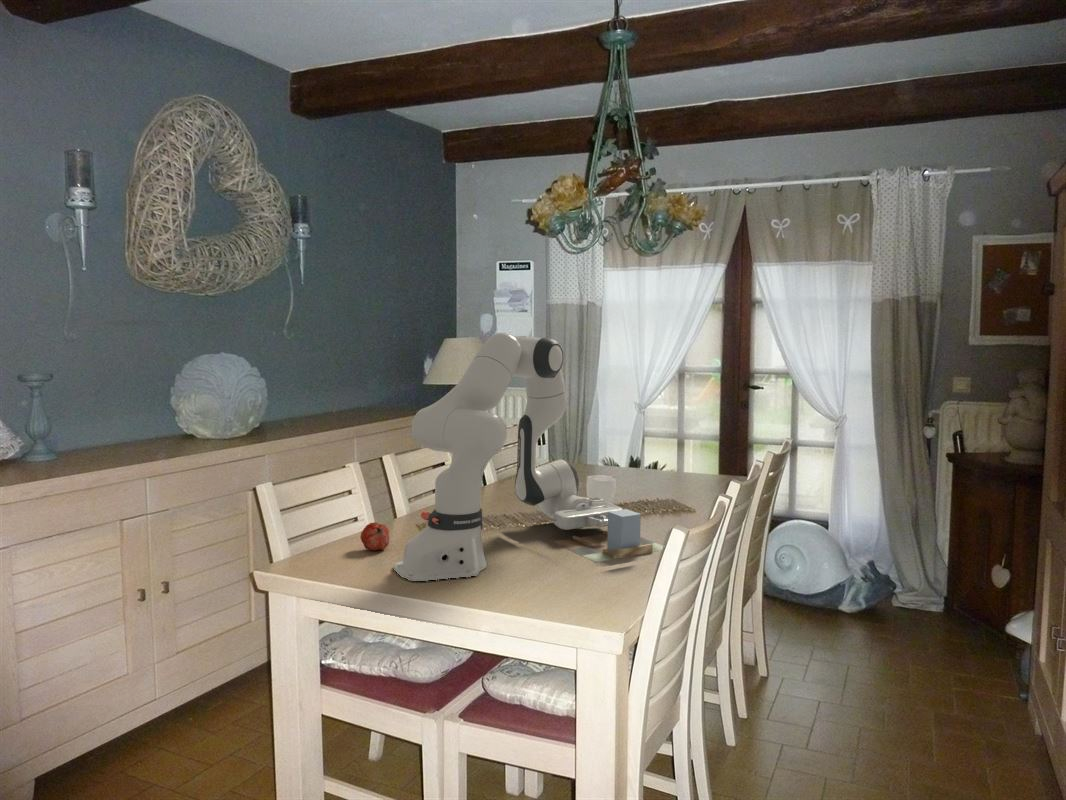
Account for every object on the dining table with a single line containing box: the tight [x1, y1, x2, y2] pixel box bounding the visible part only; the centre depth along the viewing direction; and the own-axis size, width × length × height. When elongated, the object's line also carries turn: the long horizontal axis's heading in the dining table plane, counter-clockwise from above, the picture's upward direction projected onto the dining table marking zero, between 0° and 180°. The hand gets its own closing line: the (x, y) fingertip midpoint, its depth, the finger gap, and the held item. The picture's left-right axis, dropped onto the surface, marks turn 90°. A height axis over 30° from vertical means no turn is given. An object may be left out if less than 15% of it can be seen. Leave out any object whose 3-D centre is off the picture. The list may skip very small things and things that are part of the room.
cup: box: [585, 474, 616, 504], centre depth 243 cm, size 9×9×12 cm
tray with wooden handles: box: [553, 530, 664, 563], centre depth 209 cm, size 24×20×3 cm
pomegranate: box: [360, 522, 390, 551], centre depth 205 cm, size 7×7×10 cm
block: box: [607, 508, 642, 552], centre depth 204 cm, size 6×6×10 cm
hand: (605, 523), depth 211 cm, fingers closed
